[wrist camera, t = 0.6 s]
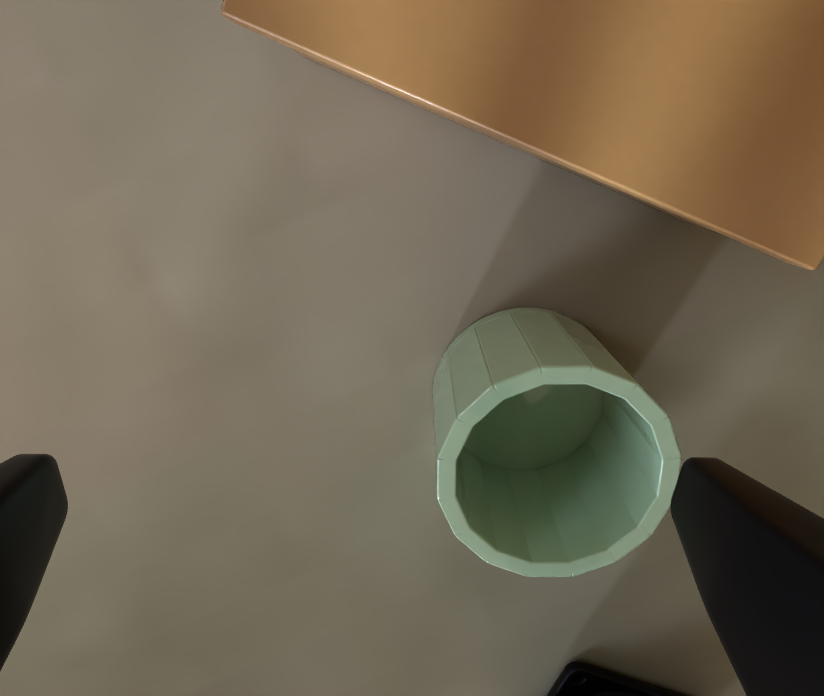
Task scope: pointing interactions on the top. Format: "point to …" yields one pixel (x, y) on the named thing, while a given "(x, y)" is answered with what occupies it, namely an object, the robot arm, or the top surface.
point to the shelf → (609, 93)
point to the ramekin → (547, 446)
